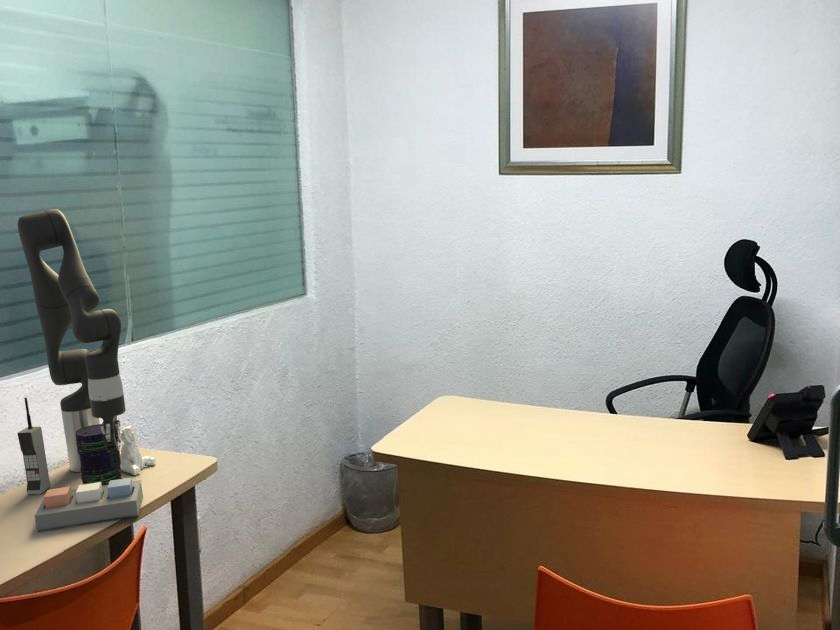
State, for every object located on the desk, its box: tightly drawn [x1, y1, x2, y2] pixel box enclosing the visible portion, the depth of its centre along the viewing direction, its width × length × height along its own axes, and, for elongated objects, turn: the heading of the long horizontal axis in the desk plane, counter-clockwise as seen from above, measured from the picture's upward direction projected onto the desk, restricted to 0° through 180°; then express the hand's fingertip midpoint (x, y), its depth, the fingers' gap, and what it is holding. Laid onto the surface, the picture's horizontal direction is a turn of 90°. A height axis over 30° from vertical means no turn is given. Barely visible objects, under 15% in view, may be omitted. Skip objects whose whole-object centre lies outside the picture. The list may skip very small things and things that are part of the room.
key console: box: [34, 479, 144, 533], centre depth 200 cm, size 14×22×4 cm, turn 104°
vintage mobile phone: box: [17, 397, 51, 495], centre depth 216 cm, size 4×5×25 cm
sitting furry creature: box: [120, 425, 156, 476], centre depth 229 cm, size 10×9×12 cm
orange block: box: [43, 486, 72, 508], centre depth 198 cm, size 5×5×4 cm
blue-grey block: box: [108, 477, 133, 498], centre depth 202 cm, size 5×5×4 cm
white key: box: [76, 482, 103, 503], centre depth 200 cm, size 5×5×4 cm
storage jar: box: [75, 423, 123, 486], centre depth 219 cm, size 10×10×15 cm
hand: (116, 465), depth 200 cm, fingers closed
